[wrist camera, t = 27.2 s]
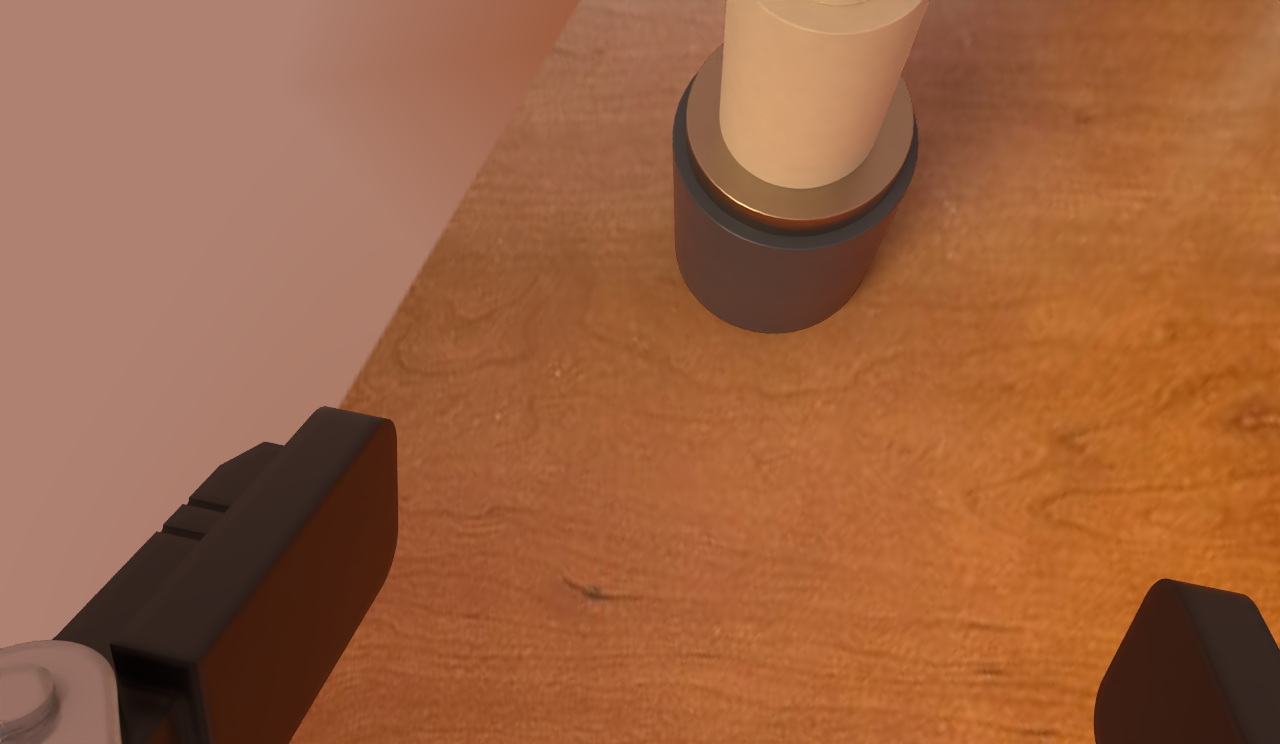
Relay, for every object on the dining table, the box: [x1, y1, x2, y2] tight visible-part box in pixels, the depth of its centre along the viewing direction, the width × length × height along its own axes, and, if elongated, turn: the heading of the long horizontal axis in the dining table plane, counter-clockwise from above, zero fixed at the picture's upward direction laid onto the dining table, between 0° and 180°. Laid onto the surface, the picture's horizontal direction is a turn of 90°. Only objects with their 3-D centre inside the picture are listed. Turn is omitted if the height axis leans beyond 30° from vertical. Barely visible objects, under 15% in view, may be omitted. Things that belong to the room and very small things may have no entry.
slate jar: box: [673, 43, 919, 333], centre depth 40 cm, size 9×9×12 cm
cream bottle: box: [719, 0, 930, 189], centre depth 28 cm, size 6×6×12 cm
